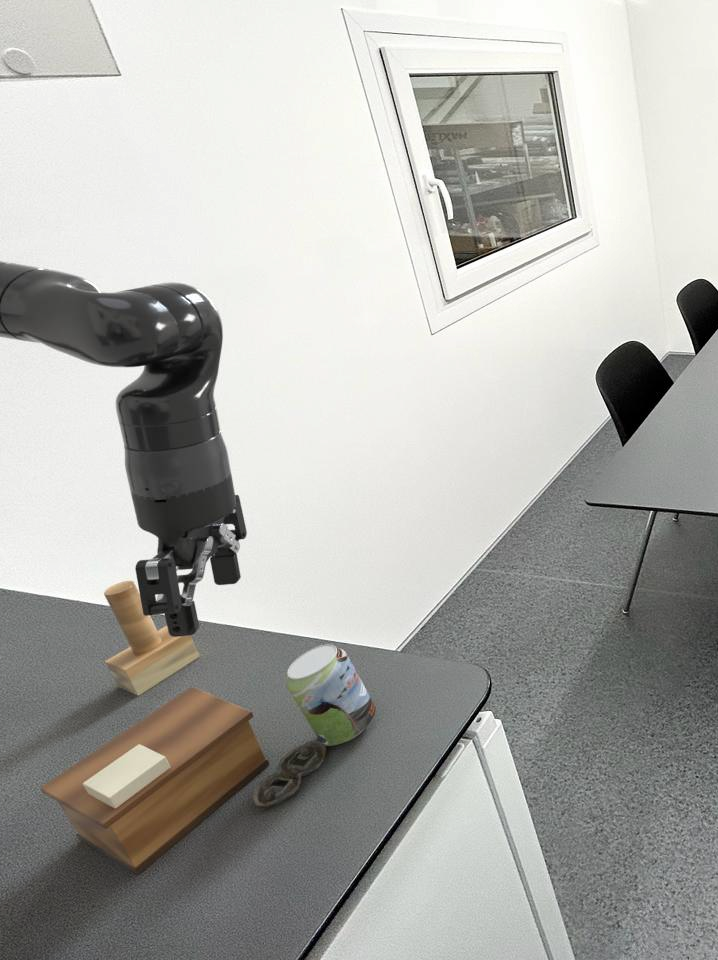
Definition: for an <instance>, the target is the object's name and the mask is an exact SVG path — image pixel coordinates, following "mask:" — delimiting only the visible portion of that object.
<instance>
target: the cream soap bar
mask: <svg viewBox="0 0 718 960" xmlns="http://www.w3.org/2000/svg"><path fill="white" fill-rule="evenodd" d="M169 768H171V767H170V765H169V763H168V761H167V759H166V757H165V756H163V755H161V754H159V753H156V752H154V751H152V750H150V749H148V748H146V747H144V746H142V745H140V744H138V745H137V746H136V747H134V748H133V749H131V750H130V751H128V752H127V753H125V754H124V755H123V756H121V757H120V758H118V759H117V760H115V761H114V762H113V763H111V764H110V765H108V766H107V767H105V768H104V769H102V770H101V771H100V772H98V773H97V774H95V775H94V776H92V777H91V778H89V779H88V780H87V781H85V782H84V783H83V785H84V787H85V789H86V790H87V792H88V794H89V795H91V796H93V797H95V798H97V799H98V800H100V801H102V802H104V803H106V804H107V805H109V806H111V807H113V808H115V809H116V808H117V807H119V806H120V805H121V804H123V803H124V802H125V801H127V800H128V799H129V798H131V797H132V796H133V795H135V794H136V793H137V792H139V791H140V790H141V789H143V788H144V787H145V786H147V785H148V784H149V783H151V782H152V781H153V780H155V779H156V778H157V777H159V776H160V775H161V774H163V773H164V772H165V771H167V770H168V769H169Z"/></svg>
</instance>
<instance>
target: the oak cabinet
mask: <svg viewBox="0 0 718 960" xmlns="http://www.w3.org/2000/svg"><path fill="white" fill-rule="evenodd" d="M252 718H254V713H253V712H252V711H251V710H249V709H246V708H245V707H243V706H239V705H237V704H235V703H232V702H230V701H228V700H225V699H223V698H220V697H217V696H216V695H214V694H211V693H208V692H206V691H204V690H201V689H199V688H197V687H195V686H190V687H189V688H187V689H185V690H184V691H182V693H180V694H178V695H177V696H175V697H174V698H172V699H171V700H169V701H168V702H166V703H164V704H163V705H161V706H160V707H159V708H158V709H156V710H155V711H152V712H151V713H150V714H148V715H147V716H146V717H144V718H142V719H141V720H139V721H138V722H137V723H135V724H133V725H131V726H130V727H129V728H128V729H126V730H125V731H123V732H122V733H120V734H119V735H117V736H116V737H114V738H112V739H111V740H110V741H108V742H107V743H105V744H104V745H102V746H101V747H99V748H98V749H96V750H95V751H93V752H92V753H90V754H89V755H87V756H85V757H84V758H83V759H81V760H80V761H78V762H77V763H75V764H73V765H72V766H71V767H69V768H68V769H67V770H65V771H64V772H61V774H59V775H57V776H56V777H54V778H53V779H51V780H50V781H49V782H47V783H46V784H44V785H42V786H40V788H39V789H40V791H41V792H42V794H43V795H45V796H47V797H48V798H50V799H52V800H54V801H56V802H57V803H58V805H59V806H60V808H61V810H62V811H63V813H64V814H65V816H66V818H67V819H68V821H69V822H70V824H71V826H72V827H73V829H74V830H75V832H76V837H77V838H78V840H79V841H80V842H82V843H83V844H85V845H87V846H88V847H90V848H92V849H93V850H95V851H97V852H99V853H100V854H102V855H103V856H105V857H107V858H109V859H110V860H112V861H114V862H115V863H116V864H119V865H120V866H122V867H124V869H125V868H126V869H127V870H129V871H131V872H132V873H133V874H135V875H136V876H137V875H138V876H139V875H140V874H142V873H143V872H144V871H145V870H146V869H147V868H148V867H150V866H151V865H152V864H153V863H155V862H156V861H157V860H158V859H160V857H161V856H163V855H164V854H165V853H167V852H168V851H169V850H170V849H171V848H172V847H174V846H175V845H176V844H177V843H178V842H179V841H181V840H182V839H183V838H184V837H185V836H186V835H188V834H189V833H190V832H191V831H192V830H194V829H195V828H196V827H197V826H198V825H199V824H200V823H202V822H203V821H204V820H205V819H207V818H208V817H209V816H210V815H212V813H214V812H215V811H216V810H217V809H219V808H220V807H221V806H222V805H223V804H224V803H226V802H227V801H228V800H229V799H231V797H233V796H234V795H236V793H238V792H239V791H240V790H241V789H242V788H243V787H245V786H246V785H247V784H248V783H250V782H251V781H252V780H253V779H255V778H256V777H257V776H258V775H259V774H260V773H261V772H262V771H264V770H265V769H266V768H267V767H269V766H270V762H269V760H268V758H266V757H265V755H264V753H263V750H262V748H261V746H260V743H259V741H258V739H257V737H256V734H255V732H254V730H253V727H252V725H251V723H250V721H251V720H252ZM138 744H140V745H142V746H144V747H146V748H148V749H150V750H152V751H154V752H156V753H159V754H161V755H163V756H165V757H166V759H167V761H168V763H169V765H170V767H171V768H169V769H168V770H167V771H165V772H164V773H163V774H161V775H160V776H159V777H157V778H156V779H155V780H153V781H152V782H151V783H149V784H148V785H147V786H145V787H144V788H143V789H141V790H140V791H139V792H137V793H136V794H135V795H133V796H132V797H131V798H129V799H128V800H127V801H125V802H124V803H123V804H121V805H120V806H119V807H117V808H116V809H115V808H113V807H111V806H109V805H107V804H106V803H104V802H102V801H100V800H98V799H97V798H95V797H93V796H91V795H89V794H88V792H87V790H86V789H85V787H84V785H83V783H84V782H85V781H87V780H88V779H89V778H91V777H92V776H94V775H95V774H97V773H98V772H100V771H101V770H102V769H104V768H105V767H107V766H108V765H110V764H111V763H113V762H114V761H115V760H117V759H118V758H120V757H121V756H123V755H124V754H125V753H127V752H128V751H130V750H131V749H133V748H134V747H136V746H137V745H138Z"/></svg>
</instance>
